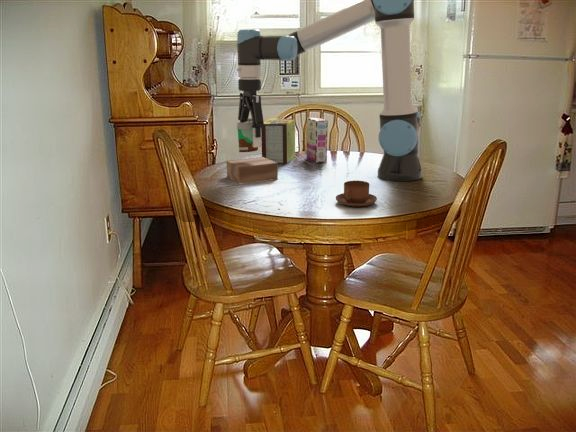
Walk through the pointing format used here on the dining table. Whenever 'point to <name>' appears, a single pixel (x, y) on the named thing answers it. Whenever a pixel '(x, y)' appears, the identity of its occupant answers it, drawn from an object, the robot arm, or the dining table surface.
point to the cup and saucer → (356, 194)
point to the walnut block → (252, 170)
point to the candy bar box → (317, 140)
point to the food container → (246, 136)
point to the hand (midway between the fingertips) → (251, 144)
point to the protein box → (278, 140)
